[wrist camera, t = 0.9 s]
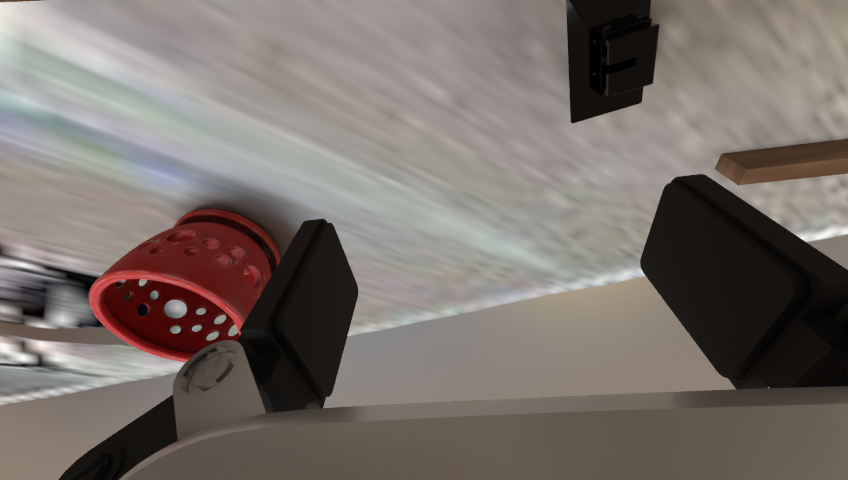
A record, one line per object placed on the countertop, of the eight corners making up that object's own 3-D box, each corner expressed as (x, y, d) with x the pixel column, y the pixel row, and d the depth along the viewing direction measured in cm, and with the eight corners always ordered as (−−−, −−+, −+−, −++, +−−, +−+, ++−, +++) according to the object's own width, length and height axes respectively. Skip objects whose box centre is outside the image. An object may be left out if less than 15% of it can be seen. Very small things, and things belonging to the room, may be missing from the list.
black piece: (550, -31, 22) (572, -33, 18) (669, -78, 20) (720, -91, 17) (561, 138, 29) (579, 160, 26) (649, 113, 28) (682, 133, 24)
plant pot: (302, 282, 42) (264, 369, 33) (201, 277, 42) (135, 362, 33) (277, 197, 34) (217, 281, 24) (152, 190, 33) (43, 272, 24)
